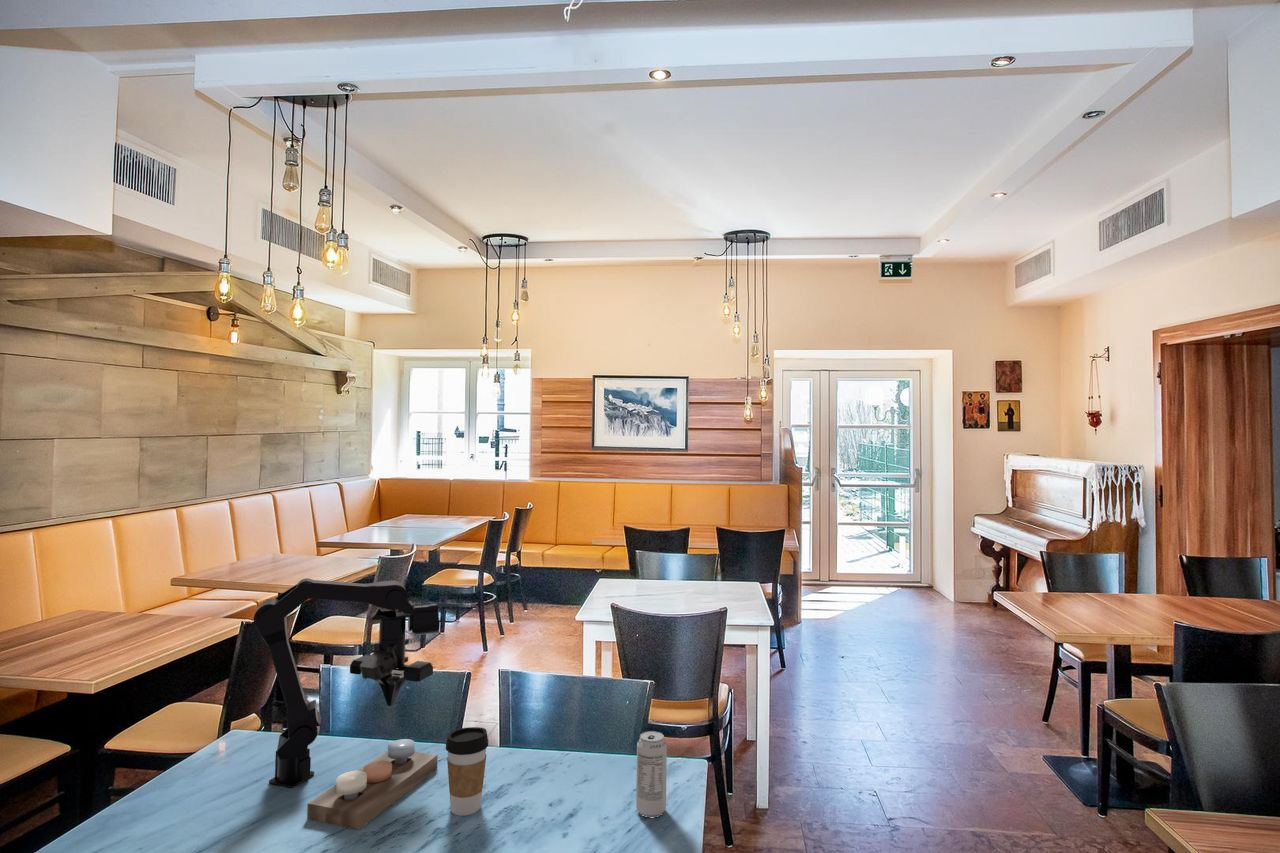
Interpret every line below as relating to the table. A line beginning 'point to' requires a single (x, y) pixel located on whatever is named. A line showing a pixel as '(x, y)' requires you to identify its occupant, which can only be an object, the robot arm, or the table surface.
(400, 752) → the slate button
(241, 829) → the table surface
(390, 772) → the terracotta button
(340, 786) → the cream button
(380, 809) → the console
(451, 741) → the coffee cup
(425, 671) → the robot arm
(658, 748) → the energy drink can
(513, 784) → the table surface
